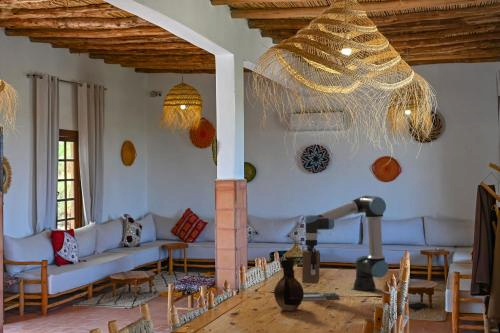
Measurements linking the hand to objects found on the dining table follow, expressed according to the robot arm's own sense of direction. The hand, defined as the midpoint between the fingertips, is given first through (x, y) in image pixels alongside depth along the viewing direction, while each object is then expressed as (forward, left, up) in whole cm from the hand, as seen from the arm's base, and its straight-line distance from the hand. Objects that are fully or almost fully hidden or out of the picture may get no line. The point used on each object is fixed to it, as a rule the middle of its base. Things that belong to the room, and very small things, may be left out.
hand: (310, 273), depth 444 cm
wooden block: (0, 0, -6) cm, 6 cm away
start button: (-13, +1, -15) cm, 20 cm away
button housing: (-13, +1, -16) cm, 21 cm away
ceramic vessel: (+21, +33, -16) cm, 42 cm away
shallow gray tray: (0, 0, -16) cm, 16 cm away
